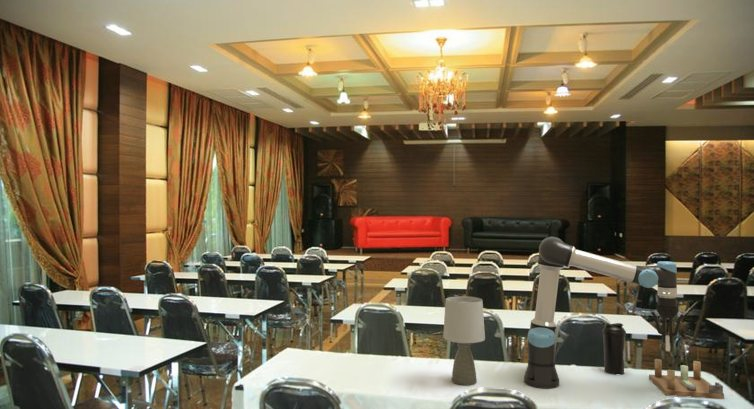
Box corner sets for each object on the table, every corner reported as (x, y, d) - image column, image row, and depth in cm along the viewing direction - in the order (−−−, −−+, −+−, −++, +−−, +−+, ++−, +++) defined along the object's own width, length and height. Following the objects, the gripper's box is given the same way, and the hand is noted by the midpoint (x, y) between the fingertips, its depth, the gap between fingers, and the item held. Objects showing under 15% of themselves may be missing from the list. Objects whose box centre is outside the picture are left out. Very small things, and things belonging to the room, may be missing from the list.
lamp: (435, 381, 239) (434, 299, 240) (458, 372, 253) (458, 294, 253) (470, 391, 227) (470, 304, 227) (493, 381, 240) (492, 299, 241)
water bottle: (628, 375, 248) (628, 326, 248) (605, 374, 250) (604, 325, 250) (623, 369, 257) (622, 321, 258) (600, 368, 259) (600, 320, 260)
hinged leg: (697, 390, 221) (697, 373, 221) (689, 390, 221) (689, 372, 221) (687, 382, 232) (687, 365, 232) (679, 381, 232) (679, 364, 232)
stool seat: (665, 395, 222) (665, 372, 222) (649, 378, 243) (648, 357, 243) (724, 398, 218) (723, 375, 218) (701, 381, 239) (701, 360, 239)
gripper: (649, 296, 235) (650, 350, 234) (683, 299, 228) (684, 354, 227) (651, 294, 241) (652, 346, 241) (684, 296, 234) (685, 350, 234)
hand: (667, 350), depth 234 cm, fingers closed
